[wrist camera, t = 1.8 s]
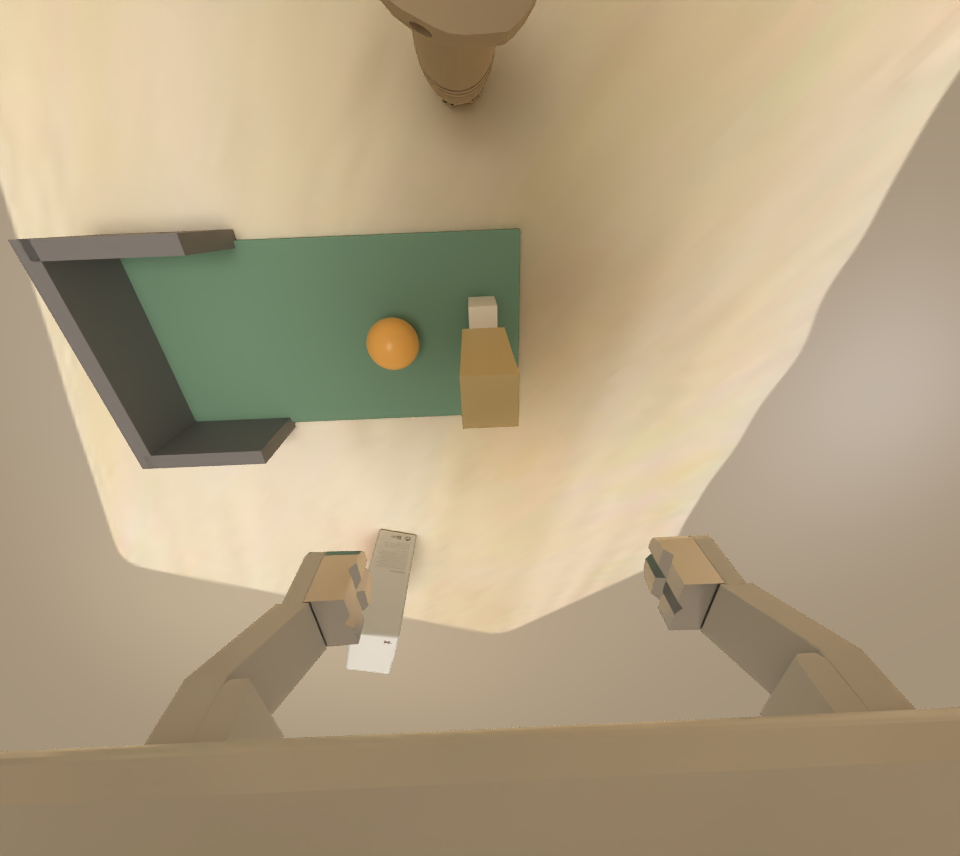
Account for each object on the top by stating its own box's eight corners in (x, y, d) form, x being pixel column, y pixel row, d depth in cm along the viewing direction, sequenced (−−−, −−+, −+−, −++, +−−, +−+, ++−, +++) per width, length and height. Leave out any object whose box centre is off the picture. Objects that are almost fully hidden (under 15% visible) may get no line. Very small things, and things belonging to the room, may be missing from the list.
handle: (490, 145, 25) (513, 71, 12) (397, 98, 24) (310, -42, 11) (520, 54, 23) (588, -155, 10) (419, -3, 22) (345, -332, 9)
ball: (368, 313, 30) (355, 325, 26) (418, 311, 30) (412, 323, 26) (377, 361, 32) (365, 378, 28) (424, 358, 32) (418, 376, 28)
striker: (461, 297, 29) (457, 347, 18) (500, 295, 29) (519, 344, 18) (466, 370, 32) (464, 451, 21) (501, 369, 32) (518, 449, 21)
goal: (96, 234, 27) (7, 239, 22) (232, 229, 27) (176, 233, 22) (190, 431, 35) (142, 468, 30) (295, 426, 35) (265, 463, 30)
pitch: (96, 245, 27) (91, 246, 27) (519, 228, 28) (520, 228, 27) (183, 424, 35) (180, 427, 35) (516, 410, 35) (517, 412, 35)
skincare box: (379, 527, 42) (349, 631, 32) (417, 534, 43) (400, 637, 32) (373, 564, 45) (344, 670, 34) (408, 569, 45) (391, 675, 35)
